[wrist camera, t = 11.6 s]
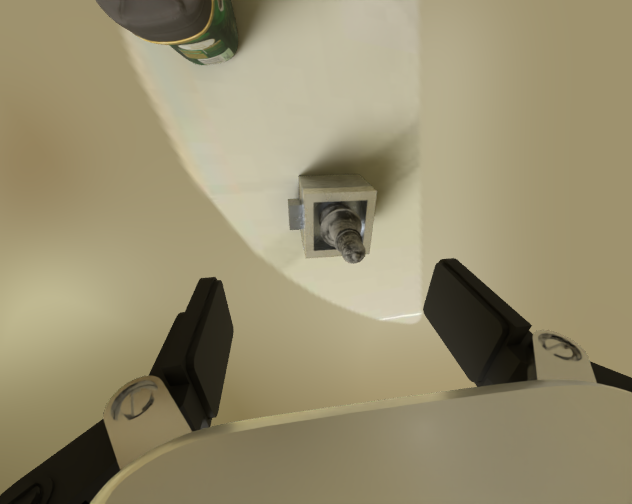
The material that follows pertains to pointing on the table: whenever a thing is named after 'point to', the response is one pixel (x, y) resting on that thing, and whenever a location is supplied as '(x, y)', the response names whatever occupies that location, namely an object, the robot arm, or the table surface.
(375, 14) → the table surface
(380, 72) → the table surface
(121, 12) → the coffee jar
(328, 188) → the grey open box
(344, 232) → the dark grey turned piece
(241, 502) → the robot arm
